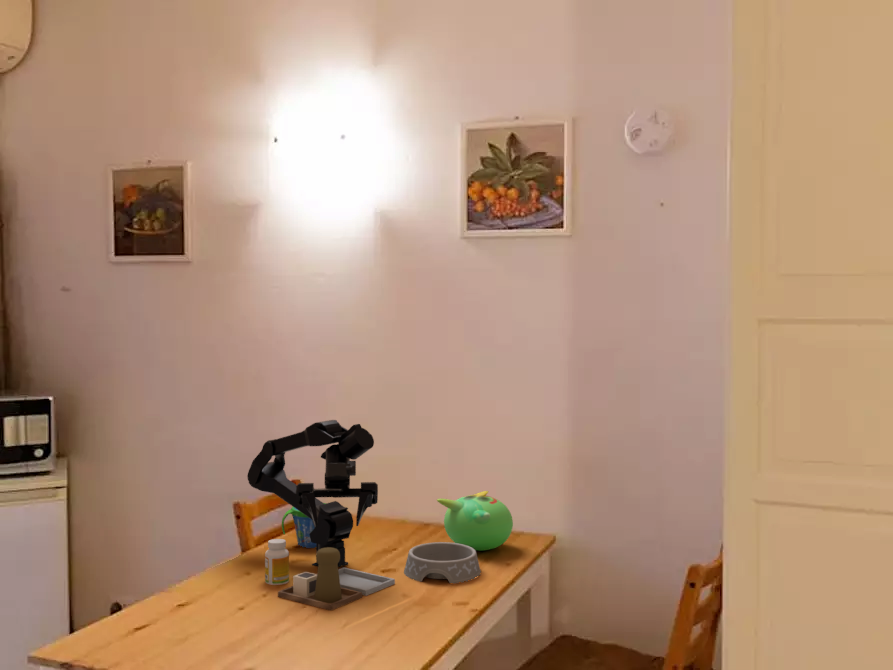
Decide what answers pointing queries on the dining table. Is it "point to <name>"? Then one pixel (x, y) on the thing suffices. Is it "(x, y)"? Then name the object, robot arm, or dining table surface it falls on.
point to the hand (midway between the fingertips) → (336, 525)
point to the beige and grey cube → (304, 584)
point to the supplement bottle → (277, 562)
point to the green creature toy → (477, 521)
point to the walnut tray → (346, 598)
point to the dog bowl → (442, 562)
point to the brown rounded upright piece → (328, 576)
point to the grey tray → (363, 581)
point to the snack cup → (301, 527)
